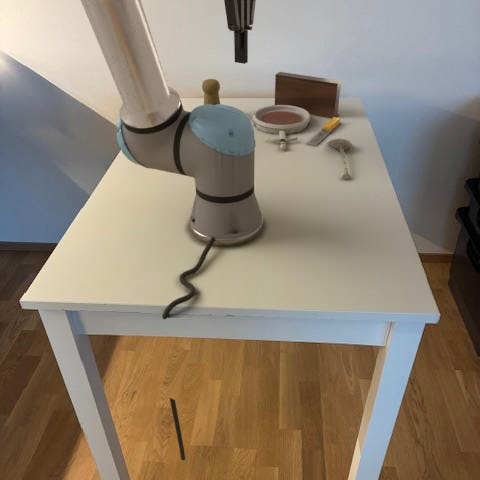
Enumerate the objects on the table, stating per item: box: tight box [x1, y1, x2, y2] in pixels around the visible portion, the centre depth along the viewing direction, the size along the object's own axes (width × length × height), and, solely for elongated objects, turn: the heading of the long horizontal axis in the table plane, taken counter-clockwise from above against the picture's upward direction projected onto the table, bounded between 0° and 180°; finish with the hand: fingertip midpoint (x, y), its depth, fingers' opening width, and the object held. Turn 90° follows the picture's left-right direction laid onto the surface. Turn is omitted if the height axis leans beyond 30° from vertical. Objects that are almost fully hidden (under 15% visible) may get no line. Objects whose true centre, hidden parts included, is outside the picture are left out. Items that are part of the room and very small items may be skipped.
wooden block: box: [274, 71, 342, 119], centre depth 148 cm, size 3×20×10 cm, turn 60°
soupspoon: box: [327, 137, 353, 180], centre depth 124 cm, size 22×3×7 cm
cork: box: [201, 78, 221, 105], centre depth 144 cm, size 6×6×11 cm
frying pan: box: [252, 104, 312, 151], centre depth 139 cm, size 17×3×28 cm
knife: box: [308, 116, 341, 147], centre depth 137 cm, size 18×2×2 cm, turn 151°
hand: (241, 62), depth 115 cm, fingers closed
